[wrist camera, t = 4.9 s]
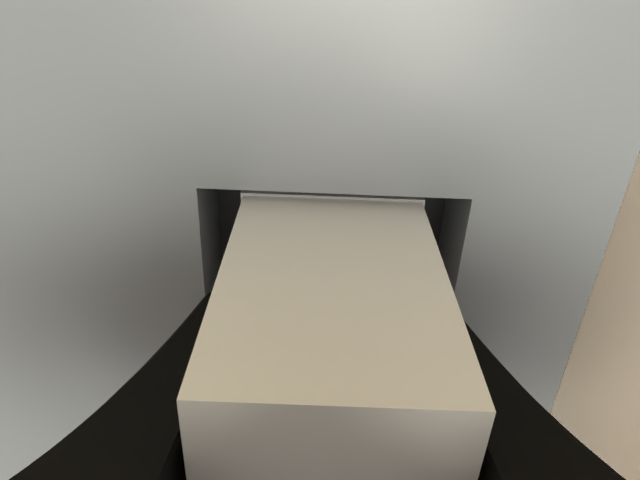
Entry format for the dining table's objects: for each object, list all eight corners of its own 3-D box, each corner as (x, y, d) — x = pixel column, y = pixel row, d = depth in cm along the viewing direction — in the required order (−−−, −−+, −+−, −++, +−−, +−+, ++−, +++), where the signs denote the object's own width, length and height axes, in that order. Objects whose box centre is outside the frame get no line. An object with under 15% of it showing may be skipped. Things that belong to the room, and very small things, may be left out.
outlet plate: (464, 555, 18) (481, 635, 16) (38, 539, 18) (0, 619, 16) (643, -74, 9) (736, -78, 7) (-195, -112, 9) (-349, -125, 7)
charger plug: (392, 326, 13) (441, 624, 7) (255, 321, 13) (200, 616, 7) (413, 166, 11) (502, 408, 5) (251, 160, 11) (170, 396, 5)
